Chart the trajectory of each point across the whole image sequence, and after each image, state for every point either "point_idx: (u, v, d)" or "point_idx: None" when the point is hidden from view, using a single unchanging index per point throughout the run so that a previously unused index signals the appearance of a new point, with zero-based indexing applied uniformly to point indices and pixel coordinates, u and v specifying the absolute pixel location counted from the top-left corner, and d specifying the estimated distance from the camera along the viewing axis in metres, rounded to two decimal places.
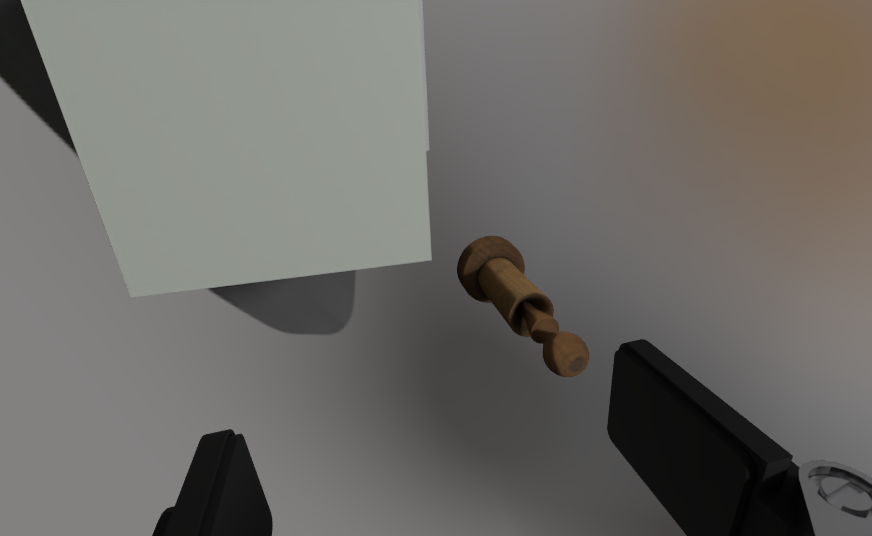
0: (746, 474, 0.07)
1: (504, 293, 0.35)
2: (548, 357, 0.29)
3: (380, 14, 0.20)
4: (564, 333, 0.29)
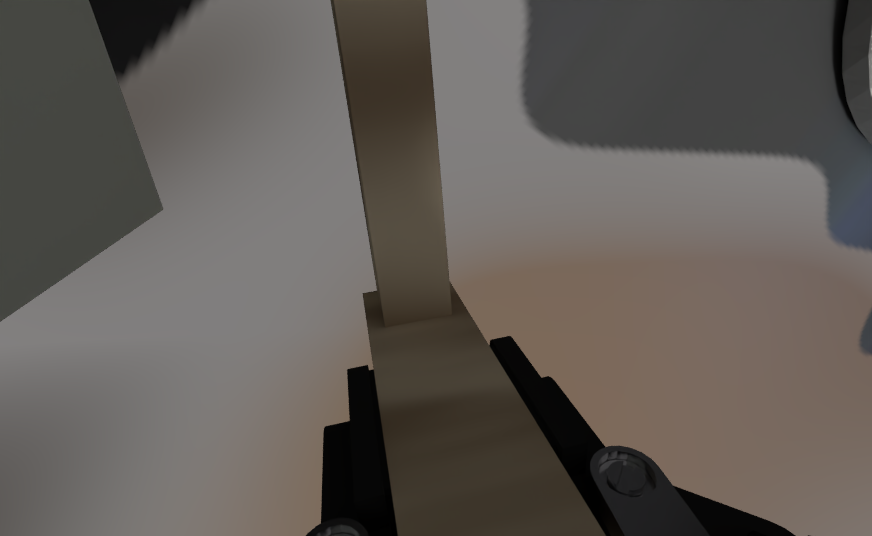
0: None
1: None
2: None
3: None
4: None
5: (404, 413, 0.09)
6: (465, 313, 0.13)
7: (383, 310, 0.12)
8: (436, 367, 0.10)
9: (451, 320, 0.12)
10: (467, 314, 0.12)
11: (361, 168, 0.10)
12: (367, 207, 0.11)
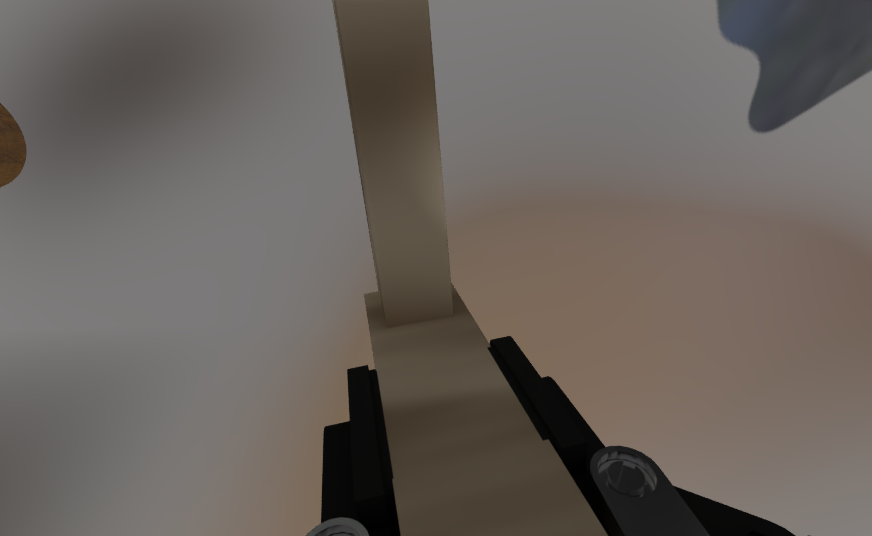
0: None
1: None
2: None
3: None
4: None
5: (406, 414, 0.09)
6: (466, 314, 0.13)
7: (384, 311, 0.12)
8: (438, 368, 0.10)
9: (452, 321, 0.12)
10: (468, 315, 0.12)
11: (363, 169, 0.10)
12: (369, 208, 0.11)
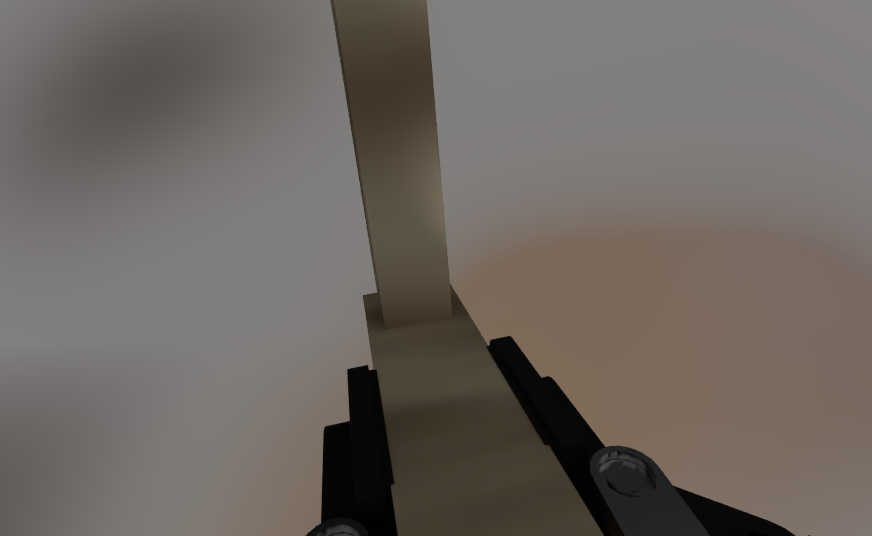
0: None
1: None
2: None
3: None
4: None
5: (404, 416, 0.09)
6: (465, 315, 0.13)
7: (383, 312, 0.12)
8: (436, 370, 0.10)
9: (451, 322, 0.12)
10: (467, 316, 0.12)
11: (361, 171, 0.10)
12: (367, 209, 0.11)
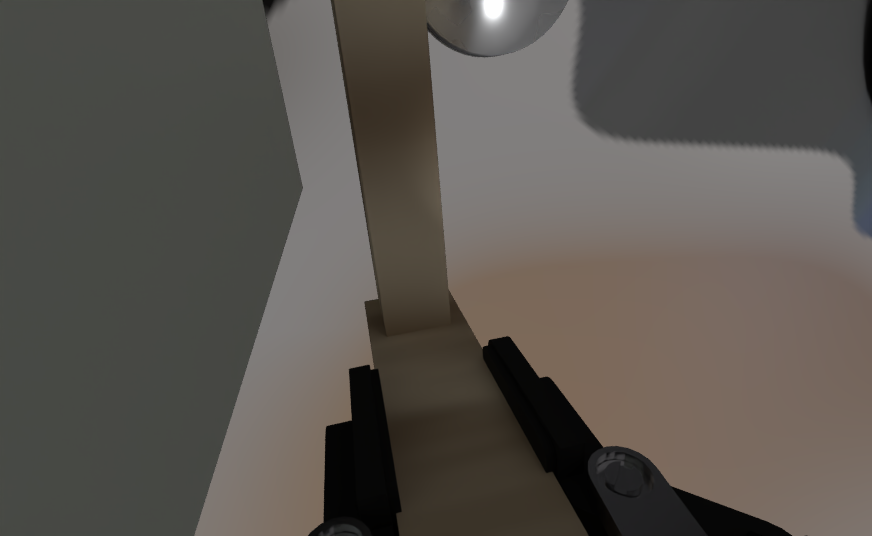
0: (546, 459, 0.08)
1: None
2: None
3: None
4: None
5: (406, 424, 0.09)
6: (464, 322, 0.13)
7: (385, 320, 0.13)
8: (436, 377, 0.11)
9: (450, 330, 0.13)
10: (465, 324, 0.13)
11: (364, 186, 0.11)
12: (370, 223, 0.11)
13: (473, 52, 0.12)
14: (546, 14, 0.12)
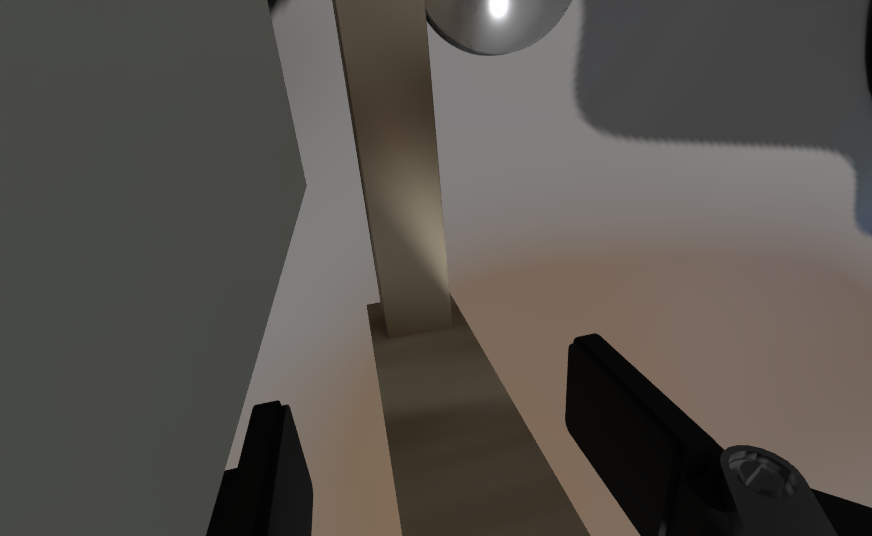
0: (672, 458, 0.08)
1: None
2: None
3: None
4: None
5: (407, 423, 0.10)
6: (465, 325, 0.13)
7: (387, 323, 0.13)
8: (437, 378, 0.11)
9: (451, 332, 0.13)
10: (466, 326, 0.13)
11: (366, 191, 0.11)
12: (372, 227, 0.11)
13: (479, 51, 0.12)
14: (551, 12, 0.12)
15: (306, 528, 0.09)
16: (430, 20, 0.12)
